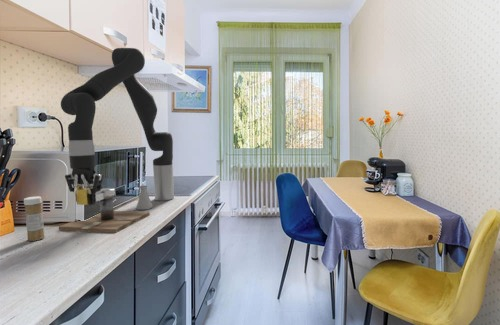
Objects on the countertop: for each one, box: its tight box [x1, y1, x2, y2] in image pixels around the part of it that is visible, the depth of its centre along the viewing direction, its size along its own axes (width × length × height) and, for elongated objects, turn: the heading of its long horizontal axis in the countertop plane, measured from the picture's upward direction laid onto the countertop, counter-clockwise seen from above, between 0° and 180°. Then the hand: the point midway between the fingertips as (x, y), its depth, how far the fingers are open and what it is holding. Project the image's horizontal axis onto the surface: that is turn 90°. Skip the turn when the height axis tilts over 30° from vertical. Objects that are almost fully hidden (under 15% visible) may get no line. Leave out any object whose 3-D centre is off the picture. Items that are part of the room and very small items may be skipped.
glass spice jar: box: [99, 197, 115, 220], centre depth 114 cm, size 6×4×8 cm
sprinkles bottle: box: [23, 196, 45, 242], centre depth 96 cm, size 5×5×13 cm
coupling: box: [75, 187, 116, 206], centre depth 109 cm, size 15×6×5 cm, turn 168°
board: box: [58, 210, 150, 234], centre depth 113 cm, size 23×22×1 cm
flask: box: [135, 185, 154, 211], centre depth 133 cm, size 7×7×10 cm
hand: (86, 203), depth 103 cm, fingers closed on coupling, 4 cm apart
